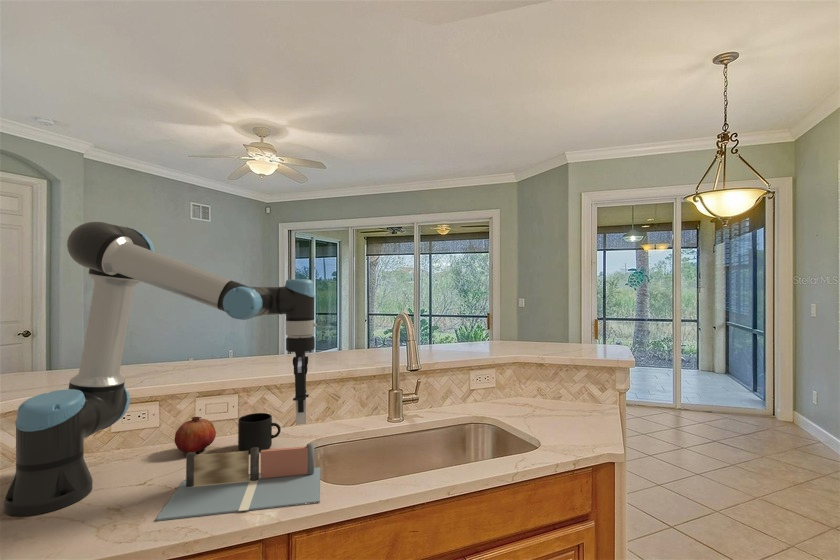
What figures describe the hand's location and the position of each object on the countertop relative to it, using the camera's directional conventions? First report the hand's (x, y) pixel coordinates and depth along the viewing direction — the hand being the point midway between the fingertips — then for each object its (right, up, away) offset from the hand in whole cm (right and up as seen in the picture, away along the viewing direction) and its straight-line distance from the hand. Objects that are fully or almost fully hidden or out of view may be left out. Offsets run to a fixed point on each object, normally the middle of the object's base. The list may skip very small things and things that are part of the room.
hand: (301, 423), depth 114 cm
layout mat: (-8, -11, -14) cm, 20 cm away
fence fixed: (-16, -11, -11) cm, 22 cm away
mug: (-16, -12, +13) cm, 24 cm away
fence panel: (-1, -11, -7) cm, 13 cm away
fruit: (-34, -12, +10) cm, 37 cm away
